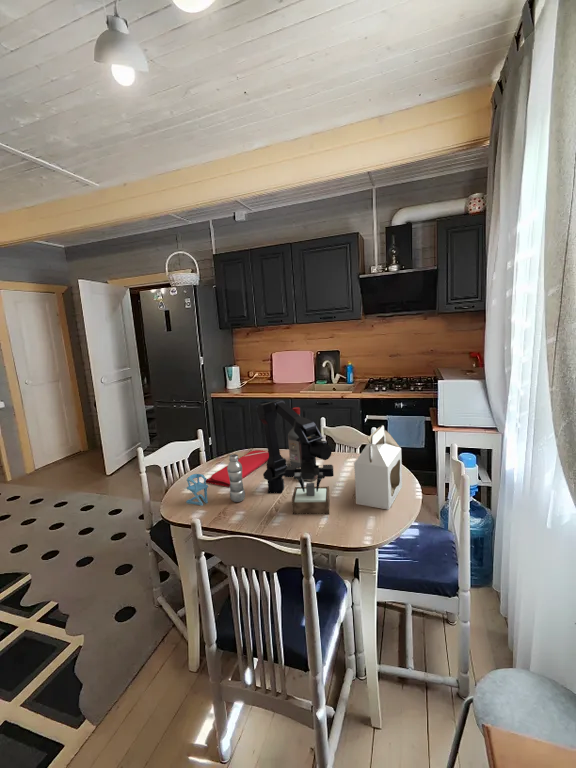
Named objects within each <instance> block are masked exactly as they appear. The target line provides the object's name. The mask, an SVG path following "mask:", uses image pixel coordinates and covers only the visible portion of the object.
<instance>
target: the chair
mask: <svg viewBox="0 0 576 768" xmlns="http://www.w3.org/2000/svg"><path fill="white" fill-rule="evenodd" d="M200 477H201V478H202V479H203V480H204V481H203V483H202V482H200ZM194 479H196V480H197V481H195V480H194ZM206 480H207V477H205V475H204V474H202V473H193V474H191V475H189V476H188V478H186V481H187V484H188V486H186V489H187V490H188V491H190V492H191V493H192V494H193V495H194V496H193V497H191V498H190V499H187V500H185V501H186V502H185V503H186V504H190V505H197V506H201V507H203V506H204V504H203V502H204V503H205V504H208V503H209V501H208V488H209V485H208V484H207V483H206ZM202 490H203V492H204V495H203V494H202V493H200V494H197V493H198V492H201V491H202ZM196 499H197V501H194V500H196Z"/></svg>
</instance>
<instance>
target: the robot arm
mask: <svg viewBox="0 0 576 768" xmlns="http://www.w3.org/2000/svg"><path fill="white" fill-rule="evenodd" d="M256 412H257V413H256V414H257V416H258V419H259V420H260V422H261V423H262V424H263V428H264V433H265V441H266V445H267V451H268V453H269V458H268V461H266V469H265V471H264V472H263V475H262V476H263V479H265V480H266V481H267V488H268V489H267V494H283V491H284V489H285V480H284V479H285V478H293V479H294V480H296V481H298V483H299V486H300V487H302V490H303V492H305V487H306V486H305V483H304V482H305V481H306V480H305V479H314V476H317V479H316V486H315V487H316V491H317V492H318V488H319V487H320V484H321V481H322V480H323V479H325V478H326V477H327V478H328V477H329V478H331V477H334V465H333V464H323V465H322V467H320V466H319V465H318V464H317V459H320V460H323V461H327V460H329V459H330V457H331V456H332V451H333V450H332V448H331V446H330V445H329V444H328V441H327V440H322V439H323V436H322V433H321V432H320V430H319V428H318V427H317V425H316V423H315V422H314V421H312V420H311V419H309V418H307V417H303V416H301V415H300V416H299V415H298V414H297V413H296V412H295V411H294V410H293V408H291V407H290V406H288V404H287V403H285V400H283V399H278V400H273V401H270V402H266V403H262V404H259V405H258V406H257V408H256ZM278 415H279V416H281V417H282V418H283V419H284V420H285V421H286V422H287V423H288V424H290V425H291V426H292V428H293V429H294V432H295V433H296V434H297V435H298V437H299V438H297V439H296V441H298V442H300V450H301V468H297V467H296V465H291V464H290V465H288V464H287V459H286V458H284V457H283V456H282V455H281V451H280V446H279V445H280V444H279V439H278V434H277V433H278V431H277V427H276V421H277V418H278ZM307 437H310V438H307ZM283 477H284V478H283ZM304 480H305V481H304Z"/></svg>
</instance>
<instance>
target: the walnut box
mask: <svg viewBox="0 0 576 768" xmlns="http://www.w3.org/2000/svg"><path fill="white" fill-rule="evenodd" d="M304 487H305V489H306V486H304ZM314 487H315V488H316V486H314ZM319 488H326V502H294V500H295V496H296V491H297V489H302V487H301V486H294V489H293V493H292V497H291V507H292V509H291V511H292V515H330V506H331V503H330V500H331V498H330V487H329V486H325V485H323V486H319Z"/></svg>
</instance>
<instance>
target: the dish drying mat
mask: <svg viewBox="0 0 576 768" xmlns="http://www.w3.org/2000/svg"><path fill="white" fill-rule="evenodd" d="M268 458H269V453H268V450H260V449H256V450H251V451H249V452H247V453H245V454H244V455H243V456H241V457H238V461H239V462H240V463H241V465H242V480H243V479H245V478H246V477H247V476H248V475H250V474H252V473H253V472H254V471H256V470H257V469H258V468H260V467H261V466H263V465H264V464H265V463H267V461H268ZM227 466H228V465H226V466H225V467H223V468H221V469H220V470H218V471H216V472H214V473H212V474H211V476H210V477H209V478H208V479H207V478H206V484H210V483H211V485H216V486H222V487H227V488H230V479H229V475H228V471H227Z"/></svg>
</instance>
